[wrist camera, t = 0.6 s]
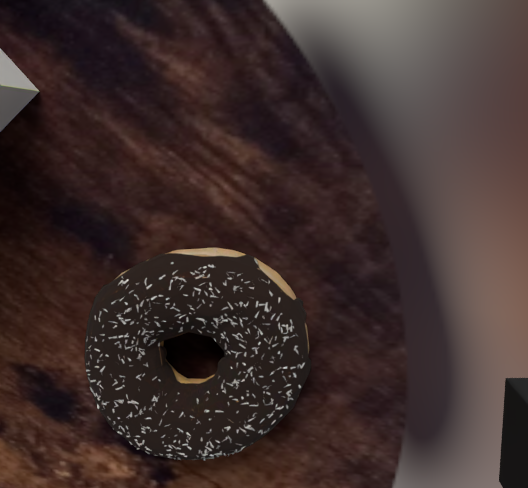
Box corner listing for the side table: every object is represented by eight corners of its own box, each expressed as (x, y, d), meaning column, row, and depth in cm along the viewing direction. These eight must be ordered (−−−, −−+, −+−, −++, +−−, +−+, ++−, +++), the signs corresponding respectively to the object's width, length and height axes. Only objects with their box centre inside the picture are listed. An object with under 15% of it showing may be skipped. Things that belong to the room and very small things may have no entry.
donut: (63, 294, 27) (23, 322, 23) (258, 201, 25) (251, 214, 21) (160, 458, 29) (138, 509, 25) (347, 383, 27) (355, 425, 23)
